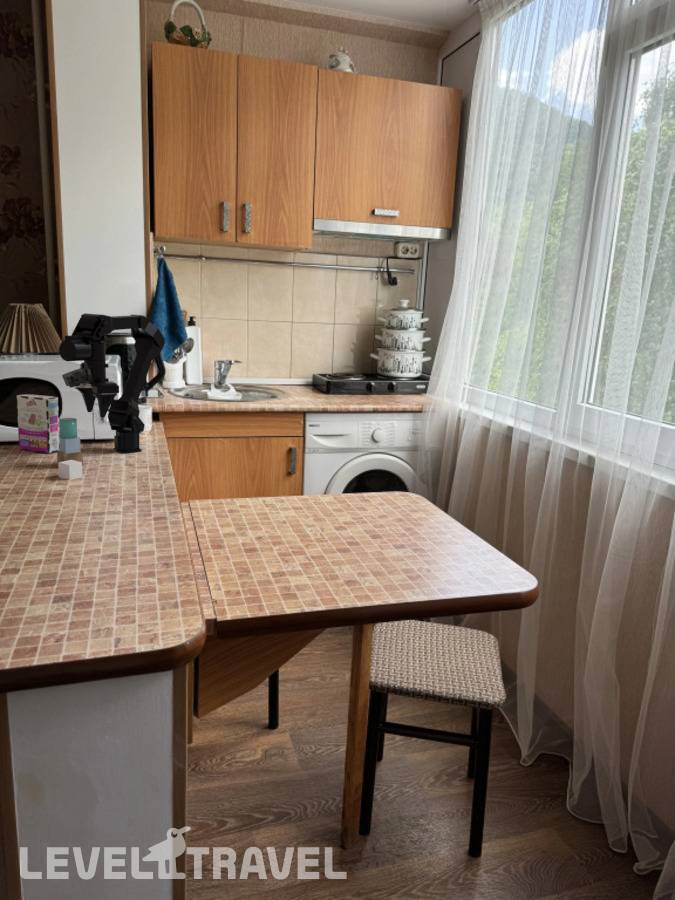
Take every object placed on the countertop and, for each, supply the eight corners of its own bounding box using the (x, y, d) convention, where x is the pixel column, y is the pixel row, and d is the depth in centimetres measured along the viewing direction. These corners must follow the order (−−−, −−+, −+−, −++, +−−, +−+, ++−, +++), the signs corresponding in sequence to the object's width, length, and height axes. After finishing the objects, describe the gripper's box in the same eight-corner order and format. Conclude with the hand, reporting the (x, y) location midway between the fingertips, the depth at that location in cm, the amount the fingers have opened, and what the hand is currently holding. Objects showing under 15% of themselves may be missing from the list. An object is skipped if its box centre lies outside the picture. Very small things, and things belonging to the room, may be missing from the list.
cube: (71, 474, 169) (71, 459, 168) (82, 477, 167) (82, 462, 166) (58, 477, 165) (58, 462, 164) (69, 480, 163) (69, 465, 163)
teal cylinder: (73, 435, 178) (73, 417, 177) (79, 437, 175) (79, 419, 174) (57, 436, 176) (56, 418, 174) (63, 439, 172) (62, 421, 171)
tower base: (75, 462, 181) (75, 448, 180) (82, 466, 177) (82, 452, 176) (57, 464, 177) (57, 450, 176) (64, 468, 174) (64, 454, 173)
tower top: (74, 449, 179) (74, 435, 178) (80, 452, 176) (80, 437, 176) (59, 450, 176) (59, 436, 176) (65, 453, 174) (65, 439, 173)
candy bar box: (61, 450, 192) (59, 396, 189) (49, 454, 188) (47, 398, 184) (30, 446, 196) (28, 393, 192) (18, 449, 191) (15, 394, 187)
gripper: (53, 356, 181) (55, 411, 184) (78, 363, 167) (80, 422, 171) (92, 356, 188) (93, 409, 191) (119, 362, 175) (120, 419, 178)
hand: (96, 414), depth 183 cm, fingers open, 9 cm apart
